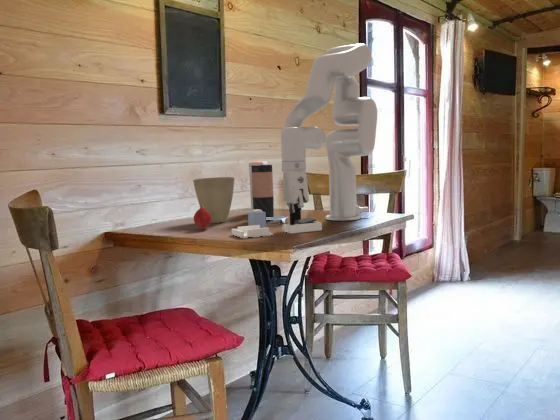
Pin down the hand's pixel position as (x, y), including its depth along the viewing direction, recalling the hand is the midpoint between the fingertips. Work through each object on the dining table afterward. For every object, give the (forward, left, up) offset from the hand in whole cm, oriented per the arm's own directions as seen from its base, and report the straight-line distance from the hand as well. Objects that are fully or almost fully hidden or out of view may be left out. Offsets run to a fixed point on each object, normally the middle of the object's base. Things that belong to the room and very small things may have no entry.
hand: (295, 224), depth 183 cm
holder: (+15, +2, -2) cm, 16 cm away
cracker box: (-9, -50, -2) cm, 50 cm away
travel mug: (-2, -30, -2) cm, 30 cm away
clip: (-1, +4, -2) cm, 4 cm away
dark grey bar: (-2, +2, -1) cm, 3 cm away
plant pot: (+14, -37, -2) cm, 39 cm away
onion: (+24, -20, -2) cm, 31 cm away
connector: (+10, -7, -2) cm, 12 cm away
